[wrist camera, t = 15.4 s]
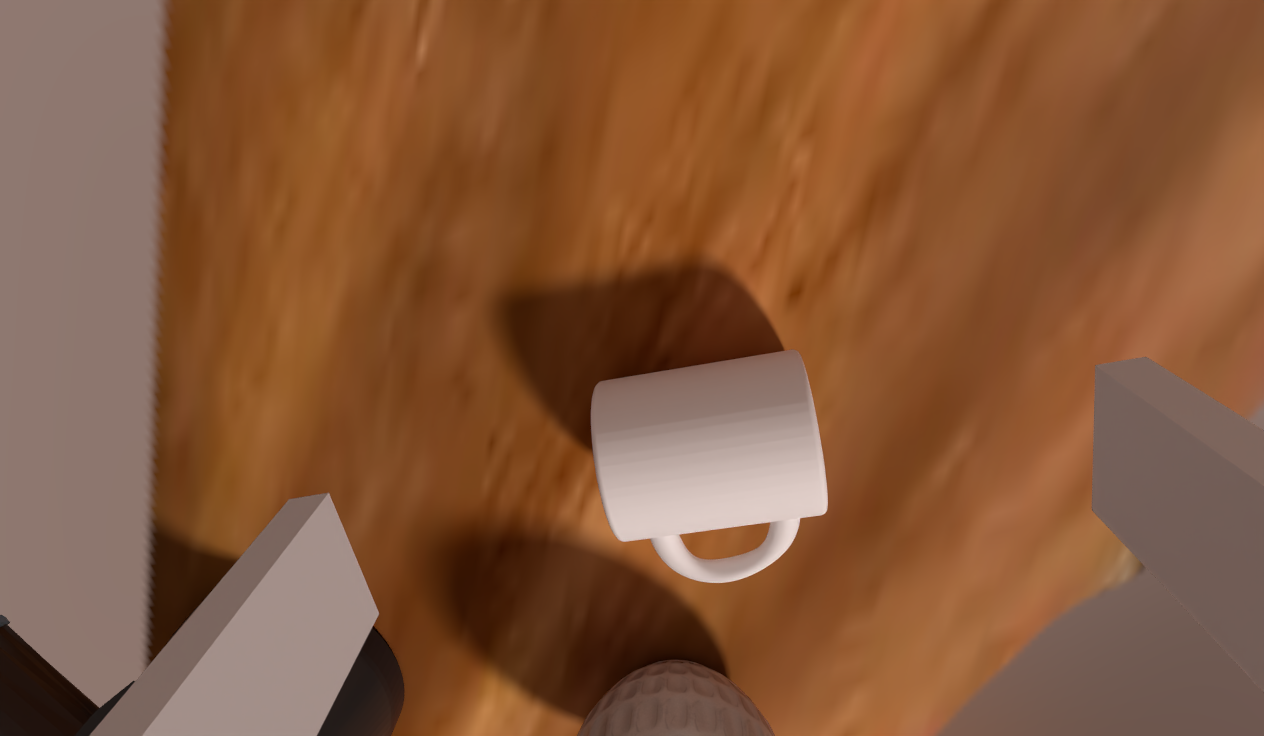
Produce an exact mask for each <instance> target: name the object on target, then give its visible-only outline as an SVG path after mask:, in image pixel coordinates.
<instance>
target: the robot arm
mask: <svg viewBox="0 0 1264 736" xmlns="http://www.w3.org/2000/svg"><path fill="white" fill-rule="evenodd" d="M1092 511H1093V512H1094V513H1095V514H1096V515H1097V516H1098V517H1099V518H1100V519H1101V520H1102V521H1103V522H1104V523H1105V524H1106V526H1107V527H1108V528H1109V529H1110V530H1111V531H1112V532H1113V533H1114V534H1115V535H1116V536H1117V537H1118V538H1119V539H1120V540H1121V541H1122V543H1123V544H1124V545H1125V546H1126V547H1127V548H1128V549H1129V550H1130V551H1131V552H1132V553H1133V554H1134V555H1135V556H1136V557H1137V558H1138V560H1139V561H1140V562H1141V563H1142V564H1143V565H1144V566H1145V567H1146V568H1147V569H1148V570H1149V571H1150V572H1151V573H1152V574H1153V575H1154V576H1155V578H1156V579H1157V580H1158V581H1159V582H1160V583H1161V584H1162V585H1163V586H1164V587H1165V588H1166V589H1167V590H1168V591H1169V592H1170V593H1171V594H1172V596H1173V597H1174V598H1175V599H1176V600H1177V601H1178V602H1179V603H1180V604H1181V605H1182V606H1183V607H1184V608H1185V609H1186V611H1187V612H1188V613H1189V614H1190V615H1191V616H1192V617H1193V618H1194V619H1195V620H1196V621H1197V622H1198V623H1199V624H1200V625H1201V626H1202V627H1203V629H1204V630H1205V631H1206V632H1207V633H1208V634H1209V635H1210V636H1211V637H1212V638H1213V639H1214V640H1215V641H1216V642H1217V643H1218V644H1219V645H1220V646H1221V647H1222V649H1223V650H1224V651H1225V652H1226V653H1227V654H1228V655H1229V656H1230V657H1231V658H1232V659H1233V660H1234V661H1235V663H1237V665H1238V666H1239V667H1240V668H1241V669H1242V670H1243V671H1244V672H1245V673H1246V674H1247V675H1248V676H1249V677H1250V678H1251V679H1252V681H1253V682H1254V683H1255V684H1256V685H1257V686H1258V687H1259V688H1260V689H1261V690H1262V691H1263V692H1264V430H1263V429H1261V428H1259V427H1258V426H1256V425H1255V424H1253V423H1251V422H1250V421H1248V420H1247V419H1245V418H1243V417H1242V416H1240V415H1238V414H1237V413H1235V412H1234V411H1232V410H1230V409H1229V408H1227V407H1226V406H1224V405H1222V404H1221V403H1219V402H1218V401H1216V400H1214V399H1213V398H1211V397H1210V396H1208V395H1206V394H1205V393H1203V392H1202V391H1200V390H1198V389H1197V388H1195V387H1194V386H1192V385H1190V384H1189V383H1187V382H1186V381H1184V380H1182V379H1181V378H1179V377H1178V376H1176V375H1174V374H1173V373H1171V372H1170V371H1168V370H1166V369H1165V368H1163V367H1162V366H1160V365H1158V364H1157V363H1155V362H1154V361H1152V360H1150V359H1149V358H1147V357H1142V358H1136V359H1130V360H1124V361H1118V362H1112V363H1106V364H1100V365H1095V401H1094V442H1093V483H1092ZM378 615H379V612H378V610H377V607H376V605H375V603H374V600H373V598H372V595H371V593H370V591H369V588H368V586H367V583H366V581H365V579H364V576H363V574H362V571H361V569H360V567H359V564H358V562H357V559H356V557H355V555H354V552H353V550H352V548H351V545H350V543H349V540H348V538H347V536H346V533H345V531H344V528H343V526H342V524H341V521H340V519H339V516H338V514H337V512H336V509H335V507H334V504H333V502H332V500H331V497H330V495H329V493H325V494H319V495H313V496H307V497H301V498H295V499H289V500H288V501H287V503H286V504H285V505H284V506H283V507H282V509H281V510H280V511H279V512H278V513H277V514H276V516H275V517H274V518H273V519H272V520H271V522H270V523H269V524H268V525H267V526H266V527H265V529H264V530H263V531H262V532H261V533H260V535H259V536H258V537H257V538H256V539H255V540H254V542H253V543H252V544H251V545H250V546H249V548H248V549H247V550H246V551H245V552H244V553H243V555H242V556H241V557H240V558H239V559H238V561H237V562H236V563H235V564H234V565H233V566H232V568H231V569H230V570H229V571H228V572H227V574H226V575H225V576H224V577H223V578H222V579H221V581H220V582H219V583H218V584H217V585H216V587H215V588H214V589H213V590H212V591H211V592H210V594H209V595H208V596H207V597H206V598H205V600H204V601H203V602H202V603H201V604H200V605H199V606H198V607H197V608H196V609H195V610H194V611H193V612H192V613H191V614H190V615H189V617H188V618H187V619H186V620H185V621H184V622H183V624H182V625H181V626H180V627H179V628H178V629H177V631H176V632H175V633H174V634H173V636H172V637H171V638H170V640H169V641H168V643H167V644H166V646H165V647H164V648H163V649H162V650H161V652H160V653H159V654H158V655H157V656H156V657H155V659H154V660H153V661H152V662H151V663H150V665H149V666H148V667H147V668H146V669H145V670H144V672H143V673H142V674H141V675H140V676H139V678H138V679H137V680H136V681H133V682H131V683H130V684H129V685H128V686H126V687H125V688H124V689H123V690H121V691H120V692H119V693H118V694H117V695H115V696H114V697H113V698H112V699H111V700H109V701H108V702H107V703H105V704H104V705H103V706H102V707H100V708H99V707H98V706H97V705H96V704H94V703H93V702H92V701H91V700H90V699H89V698H88V697H86V696H85V695H84V694H83V693H82V692H81V691H80V690H79V689H77V688H76V687H75V686H74V685H73V684H72V683H71V682H69V681H68V680H67V679H66V678H65V677H64V676H62V674H60V673H59V672H58V671H57V670H56V669H55V668H54V667H53V666H51V665H50V664H49V663H48V662H47V661H46V660H45V659H43V658H42V657H41V656H40V655H39V654H38V653H37V652H36V651H35V650H34V649H33V648H32V647H31V646H29V645H28V644H27V643H26V642H25V641H24V640H23V639H22V638H21V637H20V636H19V635H17V633H15V632H14V631H13V630H12V629H11V628H10V627H9V626H8V624H9V623H10V622H9V621H8V620H7V618H6V617H4V616H3V615H0V736H391V734H392V732H393V730H394V727H395V725H396V723H397V720H398V718H399V716H400V713H401V710H402V706H403V701H404V683H403V677H402V673H401V670H400V667H399V665H398V663H397V660H396V658H395V656H394V655H393V653H392V651H391V650H390V648H389V647H388V645H387V644H386V643H385V641H384V640H383V639H382V638H381V636H380V635H379V634H378V633H377V632H376V631H375V630H374V629H373V628H372V627H373V625H374V623H375V621H376V619H377V617H378Z"/></svg>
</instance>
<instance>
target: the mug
mask: <svg viewBox="0 0 1264 736" xmlns="http://www.w3.org/2000/svg"><path fill="white" fill-rule="evenodd" d="M591 434H592V447H593V456H594V463H595V470H596V476H597V481H598V486H599V491H600V495H601V500H602V504H603V507H604V511H605V514H606V517H607V520H608V522H609V525H610V527H611V529H612V531H613V533H614V535H615V536H616V537H617V538H618V539H619V540H620V541H624V542H626V541H633V540H641V539H648V538H650V540H651V542H652V544H653V546H654V548H655V550H656V552H657V553H658V555H659V556H660V557H661V559H662V560H663V561H664V562H665V563H666V564H667V565H668V566H669V567H670V568H671V569H673V570H674V571H676V572H677V573H679V574H681V575H683V576H685V577H688V578H690V579H693V580H697V581H702V582H709V583H724V582H731V581H735V580H739V579H742V578H745V577H748V576H750V575H752V574H755V573H757V572H759V571H760V570H762V569H764V568H765V567H767V566H769V565H770V564H771V563H773V562H774V561H776V560H777V559H778V558H779V557H780V556H781V555H782V554H783V553H784V552H785V551H786V550H787V549H788V548H789V546H790V545H791V543H792V542H793V540H794V538H795V536H796V533H797V531H798V527H799V523H800V518H804V517H811V516H819V515H823V514H825V512H826V511H827V505H828V497H827V484H826V475H825V467H824V460H823V453H822V446H821V440H820V434H819V429H818V423H817V418H816V413H815V408H814V403H813V398H812V394H811V389H810V385H809V381H808V377H807V373H806V369H805V366H804V363H803V360H802V358H801V355H800V354H799V352H798V351H796V350H786V351H780V352H774V353H768V354H762V355H756V356H750V357H744V358H738V359H732V360H726V361H720V362H714V363H708V364H702V365H696V366H690V367H684V368H677V369H671V370H665V371H659V372H653V373H647V374H641V375H635V376H629V377H623V378H617V379H611V380H605V381H601V382H599V383H598V384H597V385H596V386H595V388H594V391H593V395H592V402H591ZM767 522H770V527H769V531H768V534H767V537H766V539H765V541H764V542H763V543H762V545H760V546H759V547H758V548H756V549H754V550H752V551H750V552H748V553H745V554H742V555H738V556H734V557H729V558H723V559H714V560H707V559H700V558H697V557H695V556H694V555H692V554H691V553H690V552H689V551H688V549H687V548H686V547H685V545H684V544H683V542H682V540H681V538H680V536H679V534H685V533H693V532H700V531H707V530H715V529H722V528H730V527H737V526H745V525H752V524H759V523H767Z"/></svg>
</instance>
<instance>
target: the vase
mask: <svg viewBox="0 0 1264 736" xmlns="http://www.w3.org/2000/svg"><path fill="white" fill-rule="evenodd" d="M577 736H775V735H774V733H773V731H772V729H771V727H770V725H769V723H768V722H767V720H766V719H765V718H764V716H763V715H762V714H761V712H760V711H759V710H758V708H757V707H756V706H755V704H754V703H753V702H752V700H751V699H750V698H749V697H748V696H747V695H746V694H745V693H744V692H743V691H742V690H741V689H740V688H739V687H738V686H736V685H735V684H734V683H733V682H732V681H731V680H729V679H728V678H727V677H725V676H724V675H722V674H720V673H718V672H716V671H714V670H712V669H710V668H708V667H706V666H704V665H701V664H698V663H695V662H692V661H687V660H679V659H674V660H664V661H659V662H656V663H652V664H649V665H647V666H644V667H642V668H640V669H638V670H635V671H633V672H631V673H630V674H628V675H627V676H625V677H623V678H622V679H621V680H620V681H619V682H618V683H617V684H615V685H614V686H613V687H612V688H611V689H610V690H609V691H608V692H606V693H605V694H604V696H603V697H602V698H601V699H600V701H599V702H598V703H597V704H596V705H595V707H594V708H593V709H592V710H591V712H590V713H589V714H588V716H587V717H586V718H585V720H584V722H583V724H582V726H581V728H580V730H579V733H578V735H577Z"/></svg>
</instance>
